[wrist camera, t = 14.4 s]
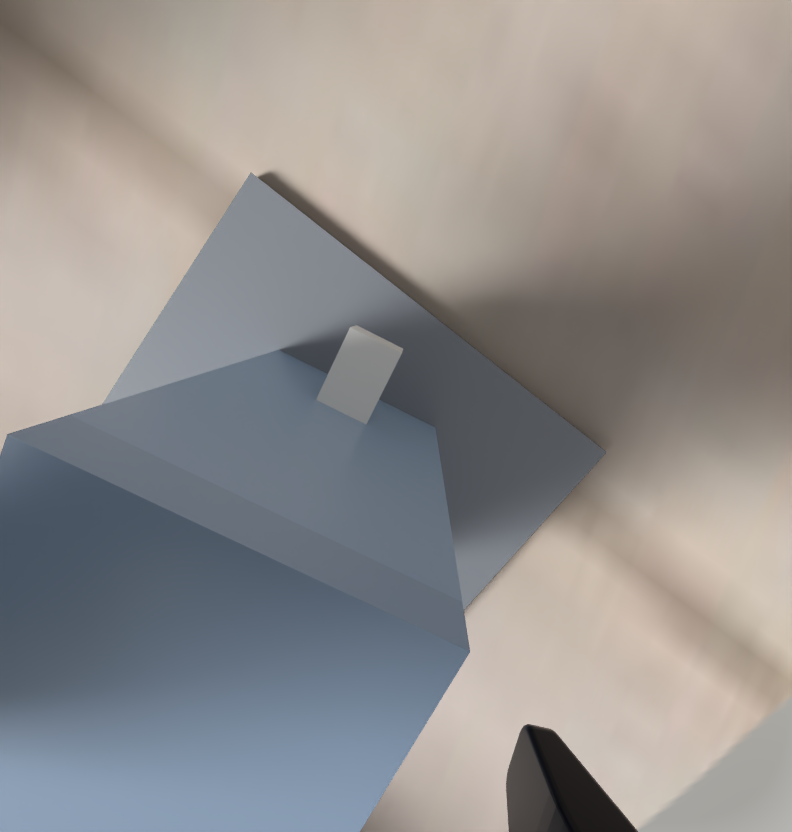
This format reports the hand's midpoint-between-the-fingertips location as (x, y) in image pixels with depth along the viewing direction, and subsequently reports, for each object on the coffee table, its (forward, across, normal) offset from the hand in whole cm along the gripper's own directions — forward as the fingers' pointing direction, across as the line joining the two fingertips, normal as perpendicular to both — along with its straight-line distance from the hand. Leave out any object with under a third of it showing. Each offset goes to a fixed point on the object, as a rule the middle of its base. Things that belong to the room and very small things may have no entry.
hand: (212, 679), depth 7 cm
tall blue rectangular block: (+10, 0, 0) cm, 10 cm away
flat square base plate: (+10, 0, 0) cm, 10 cm away
